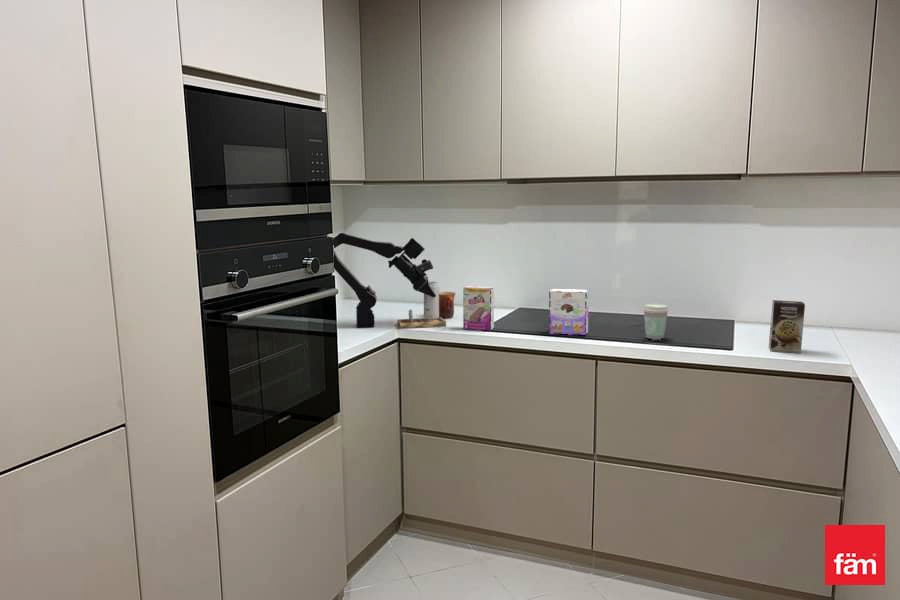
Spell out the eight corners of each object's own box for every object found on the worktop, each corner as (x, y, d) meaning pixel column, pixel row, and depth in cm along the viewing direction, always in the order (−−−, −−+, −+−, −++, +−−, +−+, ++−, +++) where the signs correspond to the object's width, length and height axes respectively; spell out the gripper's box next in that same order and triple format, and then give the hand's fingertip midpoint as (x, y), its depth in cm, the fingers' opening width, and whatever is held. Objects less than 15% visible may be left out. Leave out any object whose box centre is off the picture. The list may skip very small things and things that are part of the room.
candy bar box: (462, 329, 253) (462, 287, 250) (466, 327, 257) (466, 285, 255) (491, 331, 249) (491, 288, 247) (494, 328, 254) (494, 286, 251)
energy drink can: (421, 318, 264) (421, 281, 262) (436, 317, 266) (435, 280, 264) (426, 321, 258) (426, 283, 256) (441, 320, 261) (441, 282, 258)
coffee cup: (639, 336, 239) (640, 303, 237) (663, 336, 238) (664, 303, 236) (645, 341, 230) (646, 307, 228) (670, 341, 230) (671, 307, 228)
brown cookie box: (770, 351, 215) (773, 302, 212) (768, 347, 221) (771, 299, 218) (801, 353, 211) (805, 304, 209) (798, 349, 217) (802, 300, 215)
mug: (432, 316, 281) (431, 292, 279) (451, 314, 284) (450, 291, 282) (442, 321, 270) (441, 296, 268) (461, 319, 273) (461, 295, 271)
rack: (400, 328, 255) (400, 323, 255) (397, 324, 264) (397, 319, 264) (446, 326, 259) (446, 321, 259) (441, 322, 268) (441, 317, 268)
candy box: (588, 333, 245) (589, 289, 242) (585, 336, 239) (587, 291, 237) (551, 331, 249) (552, 287, 247) (548, 334, 244) (548, 290, 241)
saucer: (410, 324, 258) (410, 310, 257) (408, 322, 263) (408, 308, 262) (412, 324, 258) (412, 310, 257) (410, 322, 263) (410, 308, 263)
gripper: (421, 255, 249) (450, 284, 251) (420, 251, 267) (447, 278, 269) (400, 276, 249) (430, 304, 252) (401, 270, 268) (428, 297, 270)
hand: (434, 295), depth 261 cm, fingers closed on energy drink can, 6 cm apart
